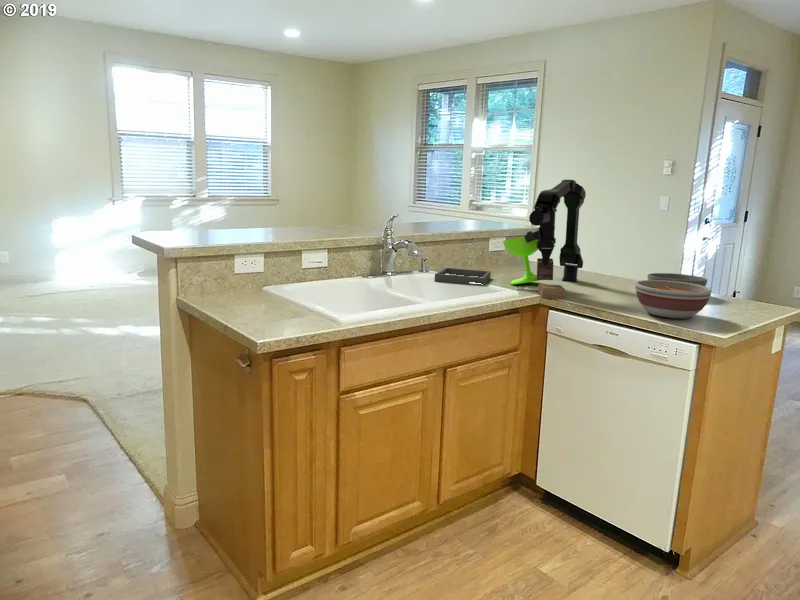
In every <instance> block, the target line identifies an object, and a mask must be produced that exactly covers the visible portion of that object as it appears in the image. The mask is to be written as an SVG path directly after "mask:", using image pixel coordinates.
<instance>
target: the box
mask: <svg viewBox="0 0 800 600" xmlns="http://www.w3.org/2000/svg"><path fill="white" fill-rule="evenodd" d="M536 276H537V280H539V281H553V280H554V259H553V258H549V261H548V263H547V265H546V266H544V265H543V259H542V257H541V258H537V259H536Z"/></svg>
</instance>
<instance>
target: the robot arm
mask: <svg viewBox="0 0 800 600" xmlns="http://www.w3.org/2000/svg"><path fill="white" fill-rule="evenodd" d="M562 197H563V204H564V205H565V207H566V210H567V211H566V213H567V214H566V229H565V242H564V245H563V246H562V247H561V248H560V252H559V257H558V258H559V266H560V267H564V268H563V275H562V276H563V277H562V279H561V282H571V283H572V282H573V283H578V282H579V281H578V273H579V272H578V270H579V269H582V268H583V267H584V260H583V256H582V254H581V248H580V245H579V244H578V234H579V233H578V231H579V221H580V220H579V217H580V209H581V208H582V206H583V204H584V203H585V198H586V190H585V188H584V186H582V185H580V184H579V183H578V182H577V181H576V180H574V179H562V180H561V182H560V183H558V184H557V185H556V186H554V187H553V188H551V189H544V190H541V191H540V192H539V194H538V196H537V199H536V202H535V204H534V207H533V208H534V209H533V211H531V212H530V214H529V217H528V220H529V222H530V224H531V225H532V226H535V227H536V226H539V227H538V230H533V231H532V230H529V231H527V232H526V233H525V234H524V235H523V237H525V239H526V242H527V243H529V242H530V241H533V240H536V239H538V240H539V241H538V242H537V249H538V250H537V251H539V252H540V254H541V258H542V259H543V265H544V266H546V265H547V263H548V261H549V259H551V255H552V254H553V252H554V248H555V246H556V243H557V242H556V240H557V239H556V237H555V232H556V213H557V212H558V210H557V208H558V206H559V204H560V203H561V198H562Z"/></svg>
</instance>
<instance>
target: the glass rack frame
mask: <svg viewBox="0 0 800 600" xmlns="http://www.w3.org/2000/svg"><path fill="white" fill-rule="evenodd" d="M446 273H449V274H456V275H445V274H446ZM457 275H464V276H457ZM491 275H492V271H489V270H477V269H466V268H454V267H444V268H442V269H441V270H439V271H438V272H436V273H435V274H434V282H438V283H450V284H460V285H461V284H462V285H470V284H469V282H475V283H481V284H484V285H485V284H486V283H487V282H488V281H489V280H490V279H491ZM469 276H478V277H469ZM480 277H482V278H480Z"/></svg>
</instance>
